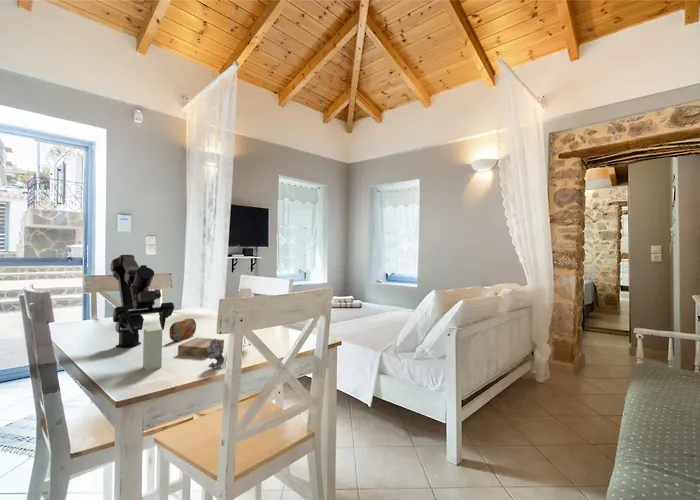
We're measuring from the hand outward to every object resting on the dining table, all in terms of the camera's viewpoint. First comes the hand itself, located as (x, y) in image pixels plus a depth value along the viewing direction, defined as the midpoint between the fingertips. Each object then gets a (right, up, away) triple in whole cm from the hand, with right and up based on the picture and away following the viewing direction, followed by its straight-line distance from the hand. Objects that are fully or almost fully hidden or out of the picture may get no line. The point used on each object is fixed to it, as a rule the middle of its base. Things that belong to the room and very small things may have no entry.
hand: (148, 331), depth 120 cm
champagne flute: (+25, -12, +27) cm, 39 cm away
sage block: (+3, -12, -3) cm, 13 cm away
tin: (-4, -11, +33) cm, 35 cm away
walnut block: (+12, -12, +15) cm, 23 cm away
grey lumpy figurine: (+24, -12, -2) cm, 27 cm away
